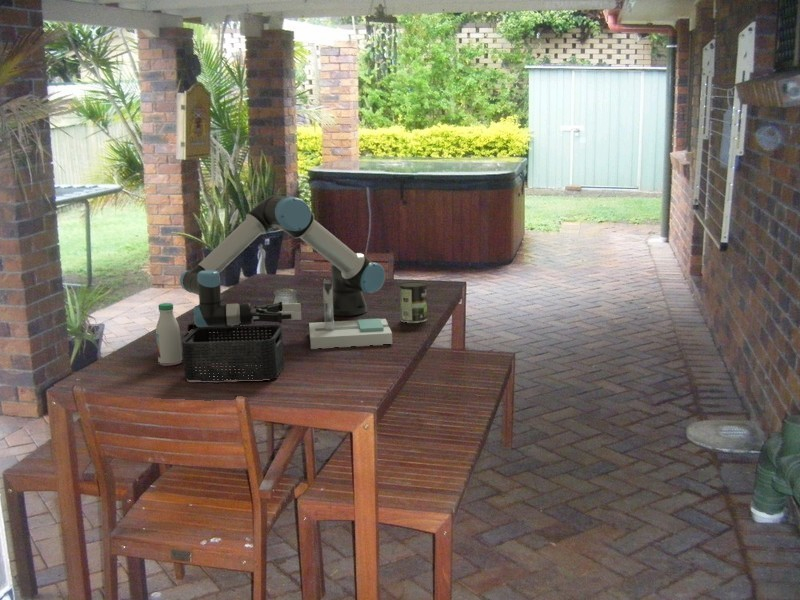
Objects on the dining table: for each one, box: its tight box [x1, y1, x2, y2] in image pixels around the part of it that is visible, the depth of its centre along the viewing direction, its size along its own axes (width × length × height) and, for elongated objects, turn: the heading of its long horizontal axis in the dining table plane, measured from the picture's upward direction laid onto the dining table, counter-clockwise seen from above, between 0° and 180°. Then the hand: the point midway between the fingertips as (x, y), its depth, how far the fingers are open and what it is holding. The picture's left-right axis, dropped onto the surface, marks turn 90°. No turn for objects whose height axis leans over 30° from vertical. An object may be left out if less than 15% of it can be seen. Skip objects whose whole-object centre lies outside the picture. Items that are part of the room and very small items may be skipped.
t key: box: [322, 279, 335, 331], centre depth 321 cm, size 7×3×20 cm, turn 7°
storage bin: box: [181, 324, 285, 381], centre depth 285 cm, size 29×19×13 cm
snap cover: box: [357, 318, 384, 332], centre depth 324 cm, size 14×8×1 cm, turn 7°
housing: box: [308, 318, 393, 350], centre depth 324 cm, size 22×28×4 cm
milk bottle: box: [155, 302, 183, 363], centre depth 297 cm, size 8×8×20 cm
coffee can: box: [399, 281, 428, 324], centre depth 348 cm, size 10×10×14 cm
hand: (301, 311), depth 320 cm, fingers open, 13 cm apart
